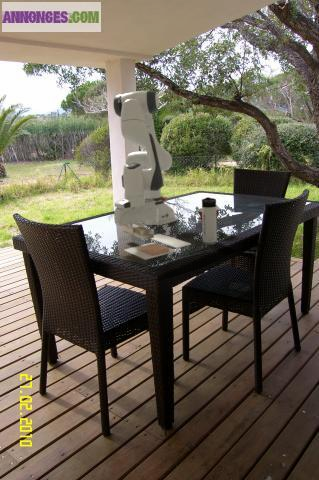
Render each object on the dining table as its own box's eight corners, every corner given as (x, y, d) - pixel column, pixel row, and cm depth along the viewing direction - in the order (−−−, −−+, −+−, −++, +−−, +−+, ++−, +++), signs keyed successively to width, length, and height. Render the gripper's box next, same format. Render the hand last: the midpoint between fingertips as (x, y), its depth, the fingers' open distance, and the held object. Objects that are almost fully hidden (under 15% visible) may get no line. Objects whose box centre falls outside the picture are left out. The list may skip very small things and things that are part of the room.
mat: (153, 243, 181) (153, 242, 181) (177, 252, 166) (177, 250, 166) (123, 251, 172) (123, 249, 172) (145, 261, 158) (145, 259, 158)
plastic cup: (203, 228, 202) (202, 205, 199) (223, 230, 197) (223, 206, 193) (194, 233, 193) (193, 209, 190) (214, 235, 188) (214, 210, 185)
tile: (155, 242, 174) (168, 247, 166) (155, 246, 174) (168, 251, 166) (139, 246, 170) (152, 251, 162) (140, 250, 170) (153, 255, 162)
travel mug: (215, 240, 181) (214, 196, 175) (217, 244, 174) (217, 199, 169) (201, 241, 181) (200, 197, 175) (203, 245, 174) (202, 200, 169)
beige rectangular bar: (131, 230, 187) (131, 221, 186) (154, 237, 172) (153, 228, 171) (120, 232, 184) (120, 224, 183) (142, 240, 169) (141, 231, 168)
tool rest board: (160, 235, 193) (160, 233, 193) (191, 245, 174) (191, 243, 174) (146, 238, 189) (146, 236, 189) (176, 249, 170) (176, 247, 170)
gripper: (150, 197, 181) (152, 226, 185) (111, 203, 170) (114, 234, 174) (158, 198, 176) (160, 228, 180) (118, 205, 165) (121, 237, 169)
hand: (137, 231), depth 177 cm, fingers closed on beige rectangular bar, 3 cm apart
